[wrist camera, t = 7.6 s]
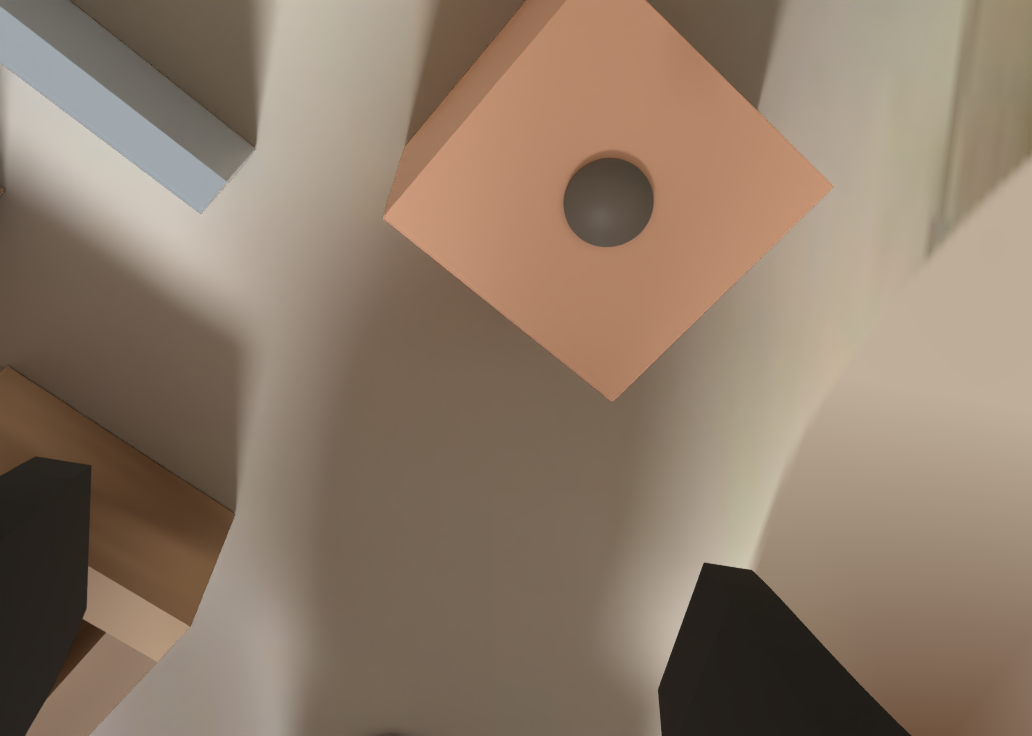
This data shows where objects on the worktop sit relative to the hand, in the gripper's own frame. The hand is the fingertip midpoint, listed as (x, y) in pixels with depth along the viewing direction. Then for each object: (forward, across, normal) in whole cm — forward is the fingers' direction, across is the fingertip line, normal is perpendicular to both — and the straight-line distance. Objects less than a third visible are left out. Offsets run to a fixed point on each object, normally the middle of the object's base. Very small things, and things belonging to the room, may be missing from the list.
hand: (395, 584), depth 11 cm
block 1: (+10, +8, +8) cm, 15 cm away
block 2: (+10, -2, -4) cm, 11 cm away
